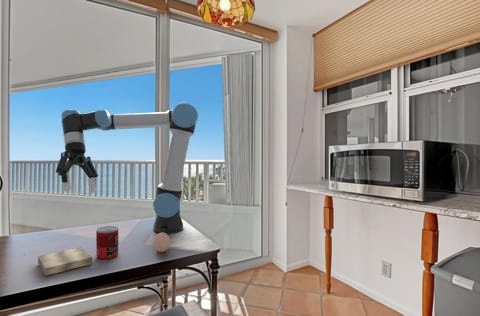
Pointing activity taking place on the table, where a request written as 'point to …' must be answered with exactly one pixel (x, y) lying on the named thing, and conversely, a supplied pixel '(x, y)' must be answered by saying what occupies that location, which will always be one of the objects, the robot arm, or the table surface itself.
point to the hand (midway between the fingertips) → (81, 191)
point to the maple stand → (64, 260)
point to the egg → (161, 242)
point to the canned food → (107, 242)
